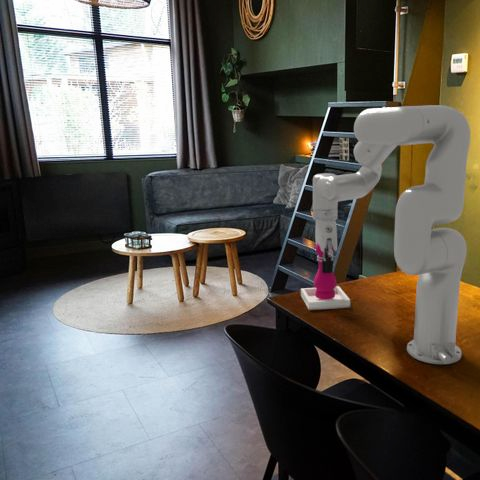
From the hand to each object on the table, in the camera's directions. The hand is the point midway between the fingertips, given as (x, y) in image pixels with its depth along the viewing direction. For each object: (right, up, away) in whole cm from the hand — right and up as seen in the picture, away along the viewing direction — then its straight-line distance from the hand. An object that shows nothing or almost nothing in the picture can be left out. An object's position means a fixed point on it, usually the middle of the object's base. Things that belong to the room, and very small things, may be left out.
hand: (325, 269), depth 156 cm
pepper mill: (0, -9, +2) cm, 9 cm away
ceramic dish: (0, -10, +3) cm, 11 cm away
